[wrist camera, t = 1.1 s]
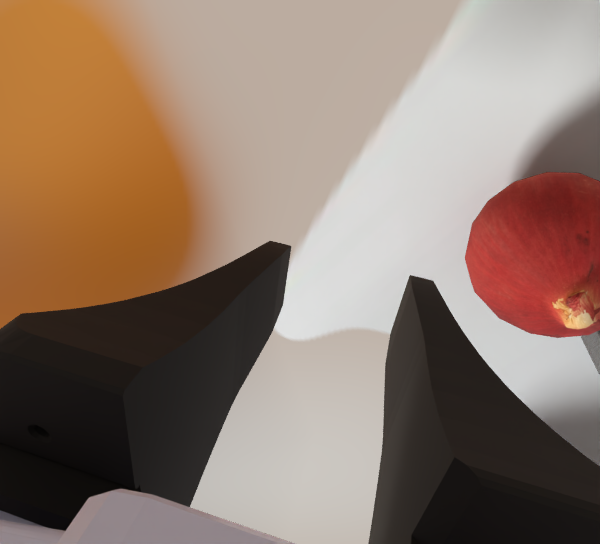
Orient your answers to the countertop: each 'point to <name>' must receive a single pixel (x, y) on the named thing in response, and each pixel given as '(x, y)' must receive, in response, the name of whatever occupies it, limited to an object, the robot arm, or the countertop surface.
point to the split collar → (593, 347)
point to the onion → (540, 254)
